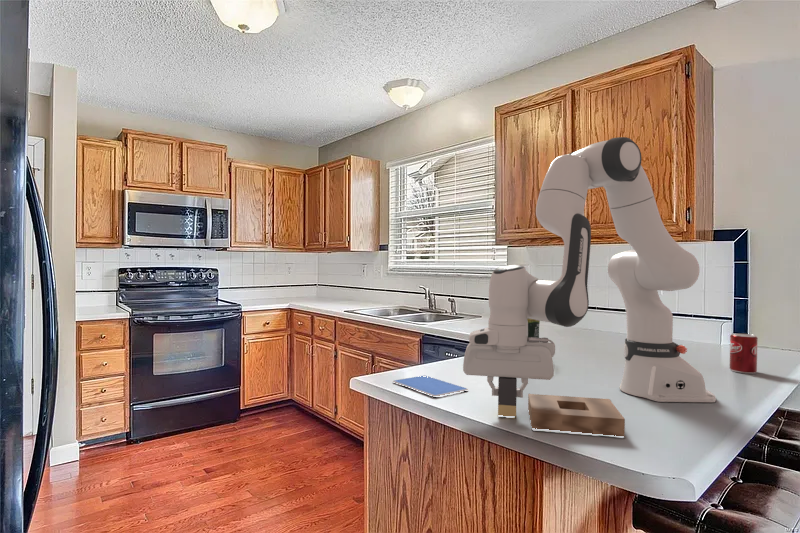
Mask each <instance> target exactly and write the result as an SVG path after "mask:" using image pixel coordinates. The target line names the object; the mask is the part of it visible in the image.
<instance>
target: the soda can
mask: <svg viewBox="0 0 800 533" xmlns="http://www.w3.org/2000/svg"><path fill="white" fill-rule="evenodd" d="M758 342H759V340H758V336H757V335H755V334H749V333H734V332H733V333H731V334H730V336H729V370H730V371H732V372H734V373H739V374H745V375H753V374H756V373H757V372H758Z"/></svg>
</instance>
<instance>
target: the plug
mask: <svg viewBox="0 0 800 533" xmlns="http://www.w3.org/2000/svg"><path fill="white" fill-rule="evenodd" d="M517 380H518V378H510V377H498V380H497V381H498V386H497V387H498V396H497V402H498V403H497V416H498V415H503V416H516V417H517V397H516V393H517V388H518V387H517V385H518V384H517V383H518V381H517Z"/></svg>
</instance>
